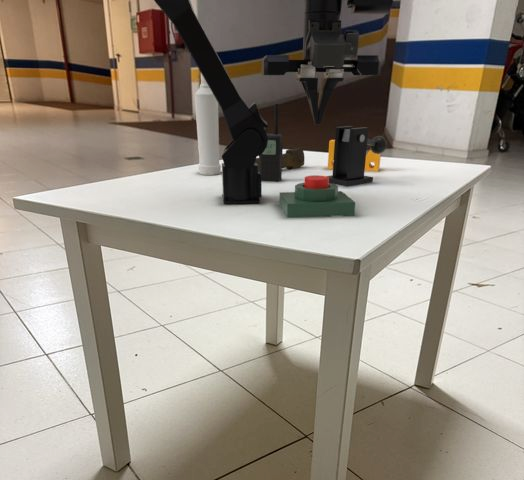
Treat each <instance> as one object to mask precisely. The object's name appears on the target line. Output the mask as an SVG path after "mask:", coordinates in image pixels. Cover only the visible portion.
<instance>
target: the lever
mask: <svg viewBox="0 0 524 480" xmlns="http://www.w3.org/2000/svg"><path fill="white" fill-rule="evenodd" d="M349 137H350V130H349V129H344V133H343V138H342V142H345V143H349ZM367 146H369V150H370V149H371V151H372V152H373V153H375V154H380V155H381V154H382V153H384V152H385V151H386V150H387V147H388V142H387V140H386V138H385V137H384V136H382V135H377V136H374V137H373V138H372V139H370V138H368V140H367Z"/></svg>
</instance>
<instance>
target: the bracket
mask: <svg viewBox="0 0 524 480" xmlns="http://www.w3.org/2000/svg"><path fill="white" fill-rule="evenodd" d="M344 129H349V130H350V137H349V143H345V142H342V138H343V133H344ZM334 133H335V134H334V140H335V146H334V160H333V169H332V174H330V175H326V176H327V177H329V183H331V184H335V185H337V186H342V187H344V188H345V187H346V188H348V187H353V186H359V185H364V184H365V185H366V184H372V183H373V182H374V176H369V175H365V172H366V171H365V161H366V154H367V149H368V145H367V140H368V139H369V127H355V126H354V125H347V126H346V125H345V126H336V127H335V132H334Z"/></svg>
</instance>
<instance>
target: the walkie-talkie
mask: <svg viewBox="0 0 524 480" xmlns="http://www.w3.org/2000/svg"><path fill="white" fill-rule="evenodd" d="M279 107H280V105H279V103H274V119H273V121H274V125H273V128H274V129H273V133H268V127H267V128H265V129H266V132H267V135H268V143H267V147H266V149H265V150H264V152H263V153H262V154H261V155H259V156H258V158H259V172H260V173H261V175H262V182H270V183H272V182H273V183H278V182H281V181H282V173H283V172H282V171H283V168H282V154H284V153H283V152H284V151H283V150H284V148H283V147H284V145H283V144H284V143H283V135H282V133H279Z"/></svg>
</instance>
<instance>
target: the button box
mask: <svg viewBox="0 0 524 480" xmlns="http://www.w3.org/2000/svg"><path fill="white" fill-rule="evenodd" d="M304 183H305V182H300V183H297V184H295V185H294V191H286V192H285V191H283V192H282V191H281V192H279V195H278V196H279V198H278V199H279V200H278V201H279V207H280V208H281V210H282V212H283V213H284V215H285V217H286V218H287V219H289V218H290V219H291V218H326V217H327V218H328V217H329V218H331V217H338V216H339V217H355V212H356V211H355V210H356V201H354V200H353V199H352V198H351V197H349V196H348V195H347V194H346V193H344V192H343V191H341V190H339V185H336V184H331V183H329V188H324V189H313V188H306V187H304Z"/></svg>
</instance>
